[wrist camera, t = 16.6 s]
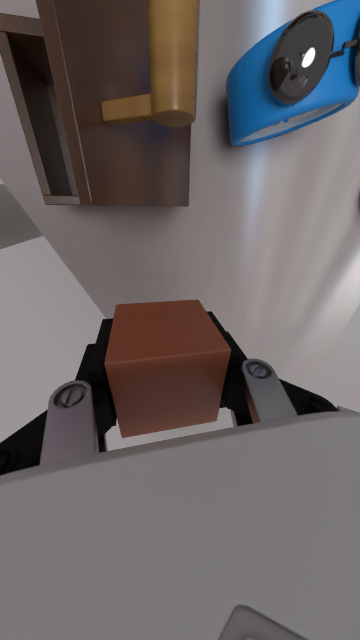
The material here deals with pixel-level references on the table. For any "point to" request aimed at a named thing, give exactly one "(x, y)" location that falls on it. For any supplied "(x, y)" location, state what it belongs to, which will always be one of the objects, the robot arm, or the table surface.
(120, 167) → the lid
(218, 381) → the block
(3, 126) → the table surface
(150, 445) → the robot arm
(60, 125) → the chest
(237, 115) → the alarm clock
